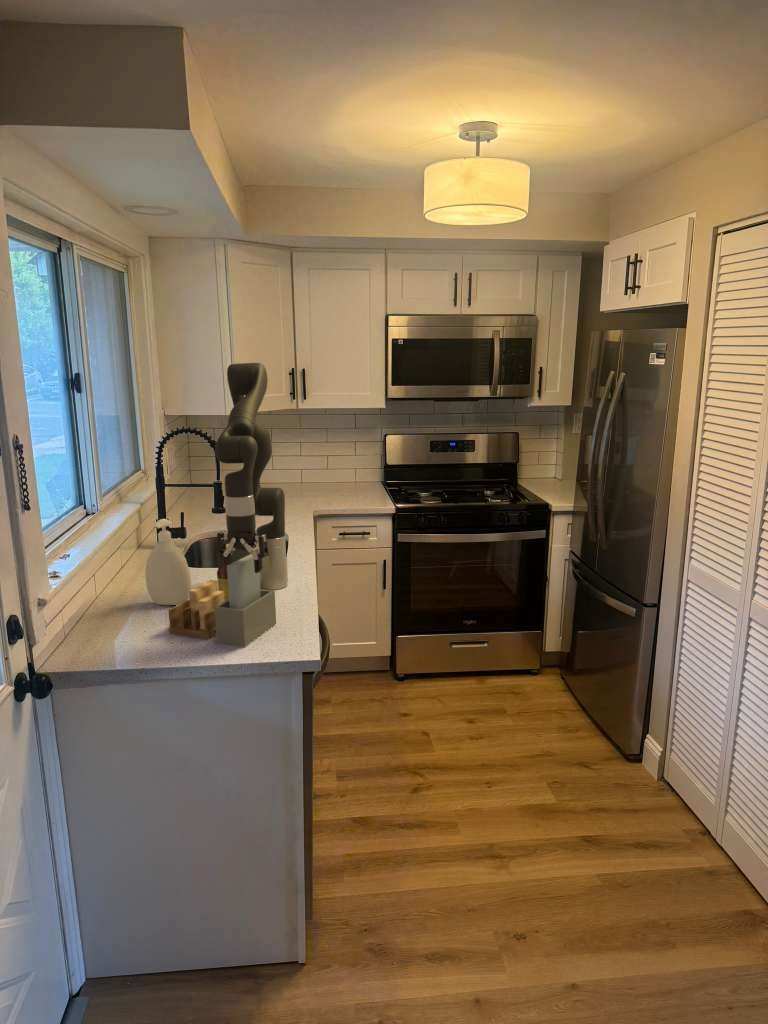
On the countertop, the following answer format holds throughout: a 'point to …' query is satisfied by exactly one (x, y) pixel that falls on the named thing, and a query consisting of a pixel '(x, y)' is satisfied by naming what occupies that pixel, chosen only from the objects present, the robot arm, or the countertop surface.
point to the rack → (183, 623)
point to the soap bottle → (167, 570)
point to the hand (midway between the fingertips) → (244, 570)
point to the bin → (245, 620)
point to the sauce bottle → (223, 576)
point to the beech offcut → (209, 605)
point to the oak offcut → (201, 594)
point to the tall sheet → (243, 583)
